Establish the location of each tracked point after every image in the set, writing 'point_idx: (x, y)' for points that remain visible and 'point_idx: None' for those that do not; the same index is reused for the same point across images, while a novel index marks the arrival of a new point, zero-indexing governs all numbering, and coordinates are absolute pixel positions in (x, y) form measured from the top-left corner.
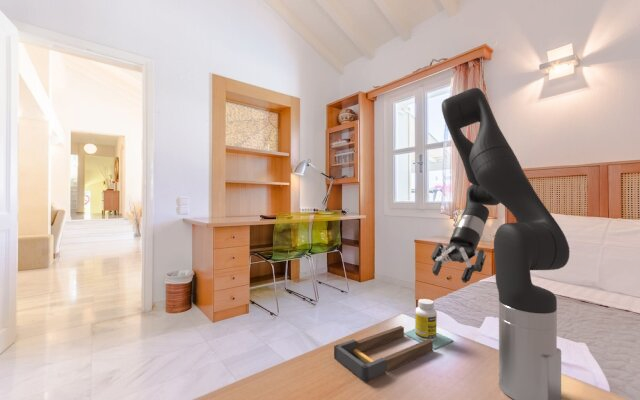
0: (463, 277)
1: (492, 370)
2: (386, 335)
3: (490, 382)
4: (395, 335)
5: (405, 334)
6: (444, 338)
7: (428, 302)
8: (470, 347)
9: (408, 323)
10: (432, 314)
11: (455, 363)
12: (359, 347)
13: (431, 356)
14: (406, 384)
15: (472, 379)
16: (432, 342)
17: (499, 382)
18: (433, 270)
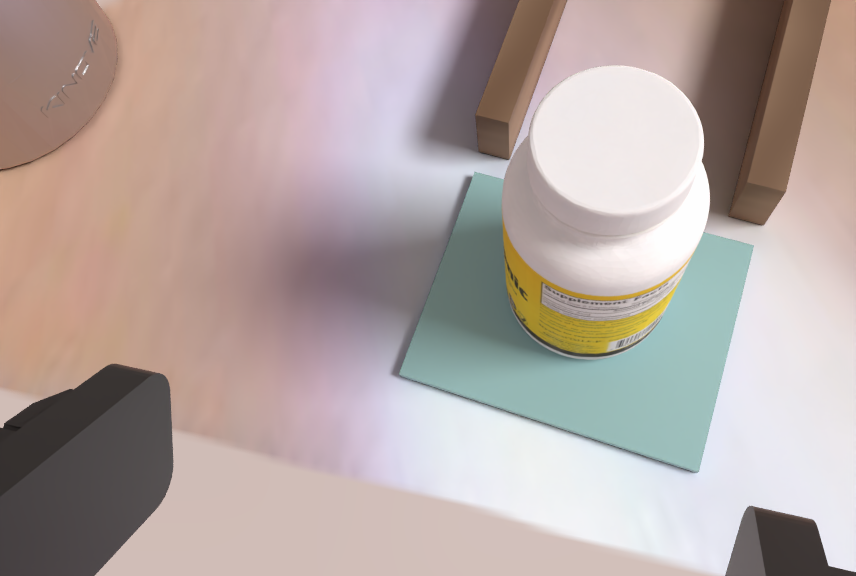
0: (115, 375)
1: (146, 161)
2: (784, 28)
3: (155, 54)
4: (757, 120)
5: (732, 242)
6: (461, 355)
7: (576, 119)
8: (279, 355)
9: (837, 476)
10: (518, 147)
11: (328, 107)
12: None
13: (464, 93)
14: None
15: (231, 26)
16: (476, 118)
17: (107, 25)
18: (805, 527)
